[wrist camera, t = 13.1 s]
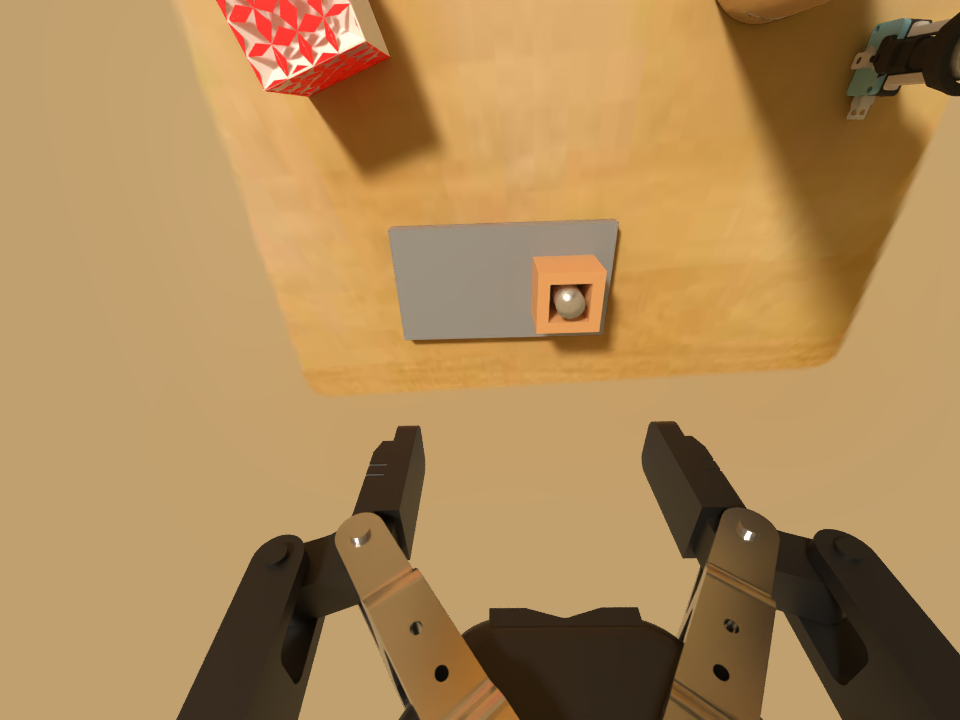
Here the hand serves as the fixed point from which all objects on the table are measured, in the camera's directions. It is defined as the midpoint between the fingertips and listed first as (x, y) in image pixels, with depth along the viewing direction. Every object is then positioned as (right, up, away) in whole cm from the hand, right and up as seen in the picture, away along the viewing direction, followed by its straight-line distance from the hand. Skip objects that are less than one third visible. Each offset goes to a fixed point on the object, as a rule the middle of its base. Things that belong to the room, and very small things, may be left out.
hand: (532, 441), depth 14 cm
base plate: (0, +11, +28) cm, 31 cm away
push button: (+30, +27, +19) cm, 44 cm away
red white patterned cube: (-14, +30, +18) cm, 38 cm away
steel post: (+6, +11, +28) cm, 31 cm away
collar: (+6, +11, +27) cm, 30 cm away
